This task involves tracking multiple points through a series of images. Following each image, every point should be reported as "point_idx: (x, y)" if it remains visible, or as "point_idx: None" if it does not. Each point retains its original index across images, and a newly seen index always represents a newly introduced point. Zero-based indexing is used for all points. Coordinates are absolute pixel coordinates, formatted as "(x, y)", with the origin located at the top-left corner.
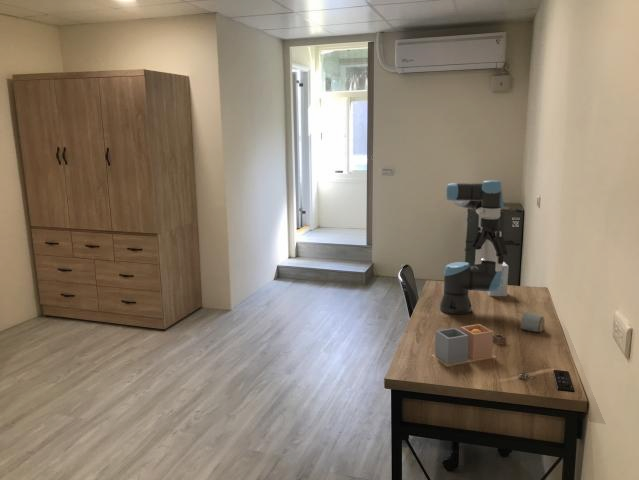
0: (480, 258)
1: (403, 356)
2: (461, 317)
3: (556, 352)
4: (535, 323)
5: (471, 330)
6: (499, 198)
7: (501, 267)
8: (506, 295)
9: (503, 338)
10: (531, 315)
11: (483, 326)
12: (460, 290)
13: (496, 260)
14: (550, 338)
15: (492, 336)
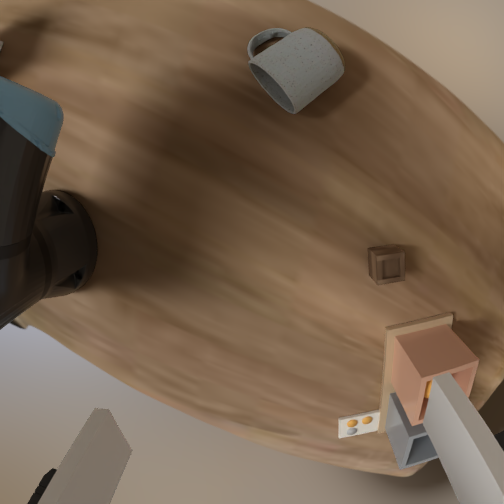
0: (94, 460)
1: (349, 462)
2: (121, 257)
3: (464, 132)
4: (336, 78)
5: (426, 397)
6: None
7: (463, 401)
8: (1, 42)
9: (403, 260)
10: (309, 69)
11: (442, 372)
12: (37, 272)
13: (468, 499)
14: (375, 69)
15: (472, 353)
